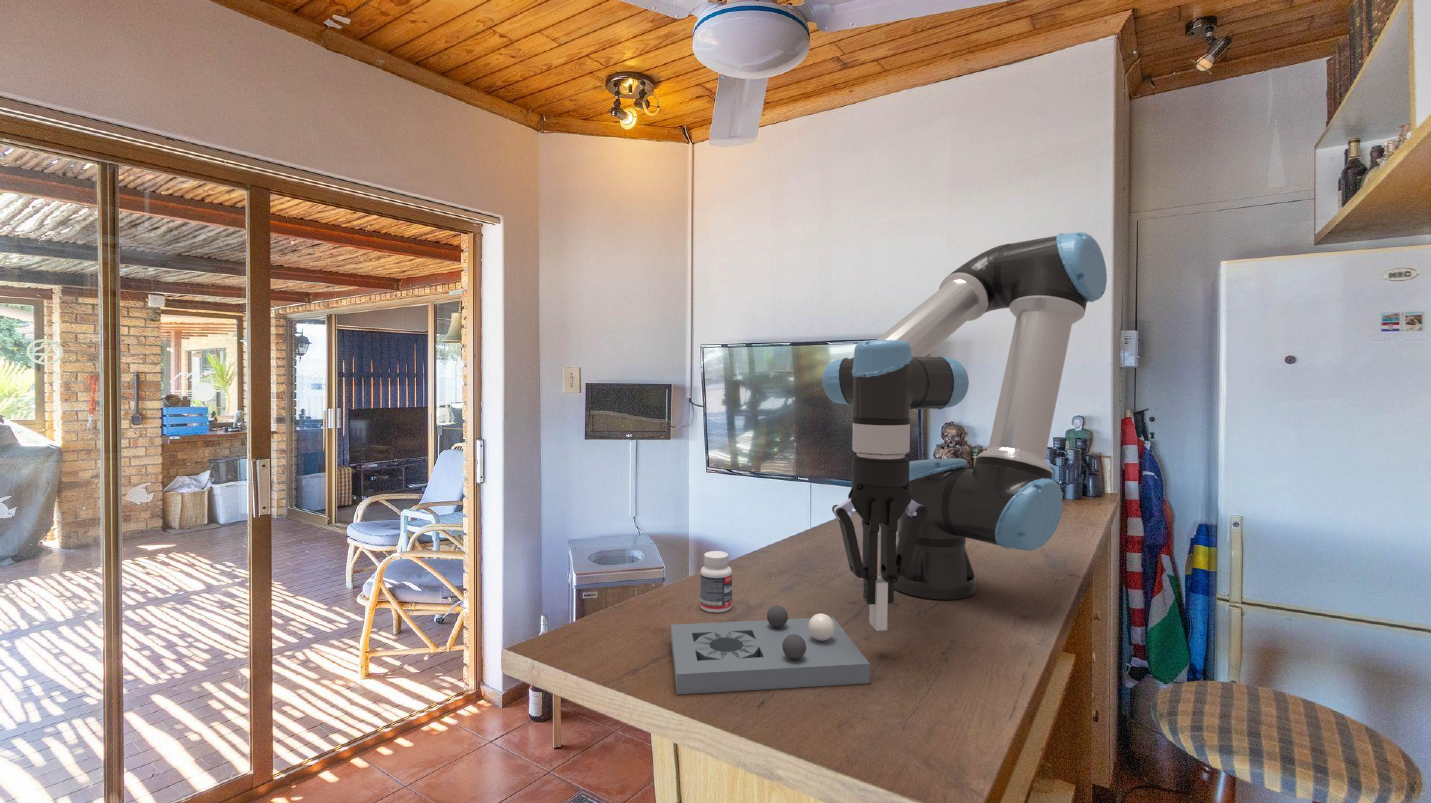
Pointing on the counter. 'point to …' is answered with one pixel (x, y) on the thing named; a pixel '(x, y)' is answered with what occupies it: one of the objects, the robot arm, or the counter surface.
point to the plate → (761, 657)
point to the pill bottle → (716, 583)
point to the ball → (821, 627)
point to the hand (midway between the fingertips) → (878, 626)
